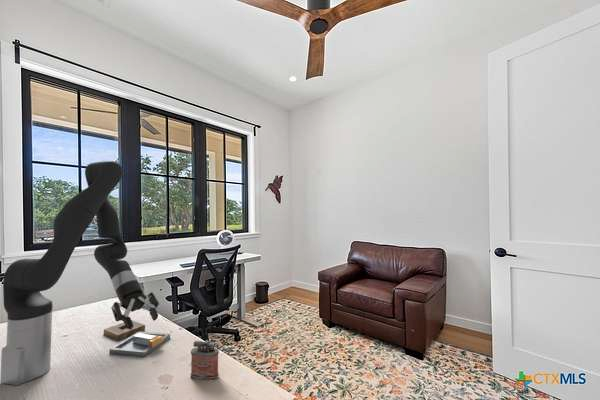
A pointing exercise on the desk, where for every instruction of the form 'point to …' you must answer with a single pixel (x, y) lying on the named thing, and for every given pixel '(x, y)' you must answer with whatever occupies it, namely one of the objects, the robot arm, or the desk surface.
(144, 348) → the tray
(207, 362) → the lighter
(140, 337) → the key
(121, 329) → the socket plate
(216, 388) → the desk surface
